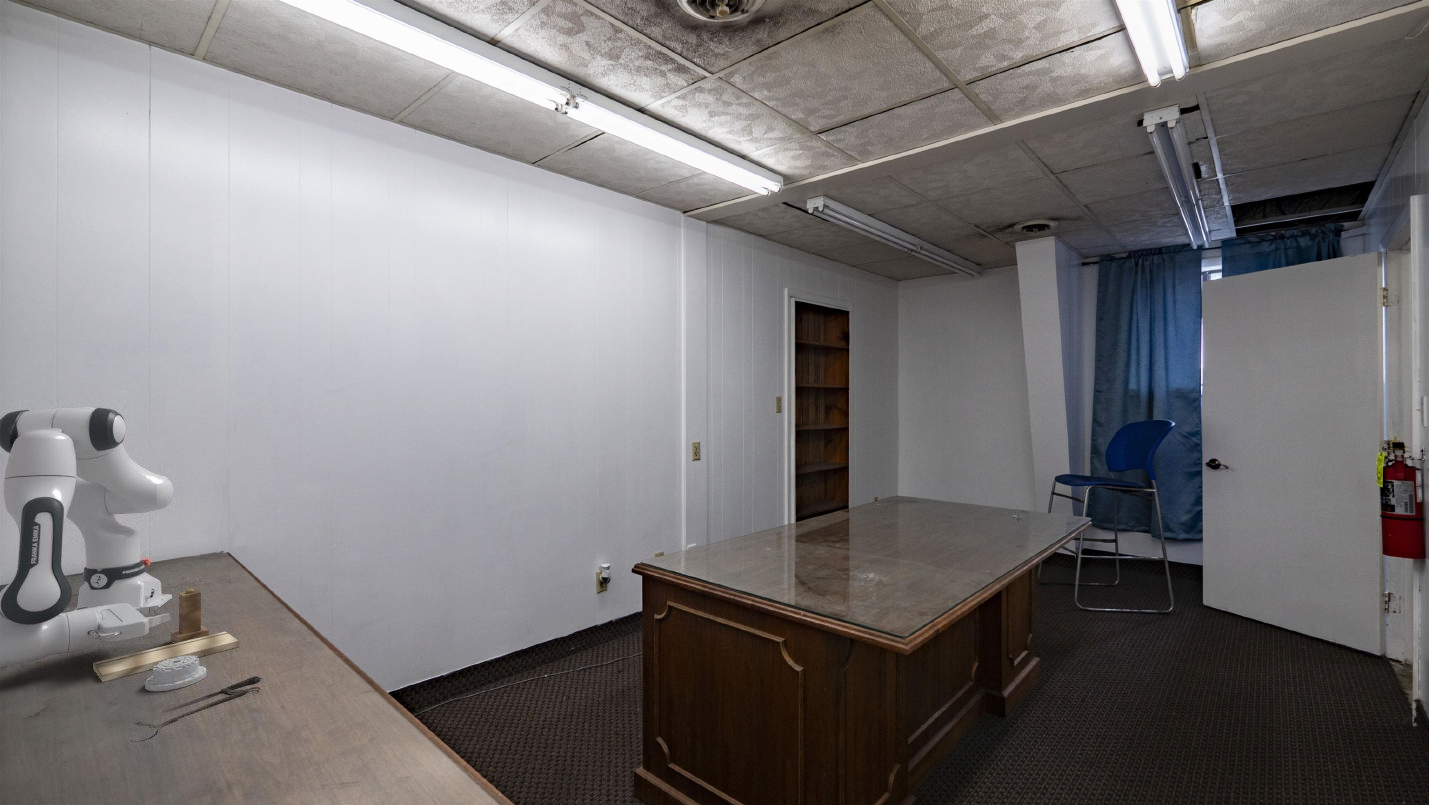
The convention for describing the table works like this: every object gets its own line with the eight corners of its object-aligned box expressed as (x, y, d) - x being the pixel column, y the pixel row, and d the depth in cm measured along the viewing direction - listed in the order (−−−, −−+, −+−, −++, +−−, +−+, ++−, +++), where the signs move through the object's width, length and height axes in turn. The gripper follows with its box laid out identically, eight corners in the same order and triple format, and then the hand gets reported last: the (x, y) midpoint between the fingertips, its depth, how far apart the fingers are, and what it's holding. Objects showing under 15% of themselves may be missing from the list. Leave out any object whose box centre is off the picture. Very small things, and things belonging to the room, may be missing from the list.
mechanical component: (132, 690, 130) (170, 695, 128) (132, 669, 130) (170, 673, 128) (181, 670, 140) (218, 674, 138) (181, 650, 140) (218, 654, 138)
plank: (102, 681, 133) (102, 674, 133) (93, 669, 139) (93, 662, 139) (238, 646, 152) (238, 640, 152) (225, 637, 158) (225, 631, 158)
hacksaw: (258, 680, 135) (258, 673, 135) (283, 691, 130) (283, 683, 130) (110, 731, 114) (110, 723, 114) (134, 746, 109) (134, 738, 109)
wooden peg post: (177, 647, 152) (178, 594, 152) (170, 641, 156) (171, 590, 156) (208, 639, 157) (208, 588, 157) (201, 634, 160) (201, 584, 160)
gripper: (93, 624, 135) (176, 608, 146) (75, 606, 147) (153, 592, 158) (93, 654, 135) (176, 635, 146) (75, 633, 147) (153, 617, 158)
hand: (164, 612), depth 152 cm, fingers open, 8 cm apart
